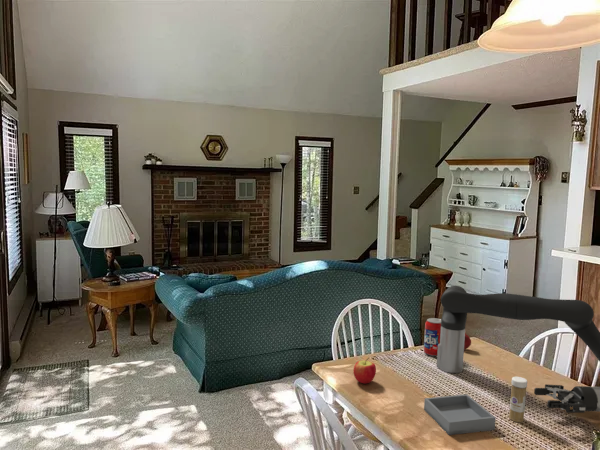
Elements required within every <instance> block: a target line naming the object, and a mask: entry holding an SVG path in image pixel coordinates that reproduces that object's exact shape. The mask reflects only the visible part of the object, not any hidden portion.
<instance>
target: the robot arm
mask: <svg viewBox="0 0 600 450" xmlns="http://www.w3.org/2000/svg"><path fill="white" fill-rule="evenodd" d="M440 304H441V306H442V316H441V318H440V319H441V334H440V344H438V351H437V356H436V368H437V369H440V370H441V371H443V372H446V373H450V374H451V373H452V374H459V373H462V371H463V369H464V355H465V350H464V341H465V332H466V325H467V318H468V317H467V316H468V314H480V315H485V316H489V317H496V318H504V319H510V320H515V321H516V320H518V321H531V320H532V321H533V320H554V321H559V322H563V323H565V325H566V326H568V328H569V329H570V330H571V331H573V333H575V334H576V336H578V338H580V339H581V340H582V341H583V343H584V344H585V345H586V346H587V347H588V349H589V350H590V352H592V353H593V355H594V356H595V358H596V359H597V360H598V361H599V362H600V330H599V329H598V326H597V325H596V324H595V322H594V320H593V319H594V316H595V315H594V313H595V312H594V309H593V308H592V306H591V305H590V304H589V303H587V302H586V301H584V300H580V299H552V298H544V297H538V296H530V295H523V294H517V293H516V294H515V293H514V294H513V293H504V292H503V293H502V292H501V293H500V292H499V293H487V294H475V293H470V292H467V290H465V288H463V287H462V286H459V285H451V286H449V287H448V288H447V289H446V290H445V291H444V292H443V293H442V295H441V297H440ZM564 387H565V386H564V385H561V384H545V385H544V387H535V388H534V390H533V393H534V395H535V396H547V397H551V398H553V399H548V400H547V404H546V406H547V407H548V408H549V409H561V410H562V411H563V410H565V412H566V413H568V414H569V413H570V414H571V413H572V414H579V413H580V414H582V413H583V414H584V413H586V412H596V413H597V412H600V386H589V385H588V386H586V385H584V386H583V385H582V386H581V385H579V386H578V385H576V386H574V387H573V388H572V389H571V390H570V389H569V390H568V389H565V388H564Z"/></svg>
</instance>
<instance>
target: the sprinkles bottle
mask: <svg viewBox="0 0 600 450" xmlns="http://www.w3.org/2000/svg"><path fill="white" fill-rule="evenodd" d="M510 383H511V390H510V399H509V413H508V418H509V419H510V421H513V422H515V423H522V422H524V421H525V408H526V398H527V395H526V394H527V388H528V380H527V378H525V377H521V376H512V377H511V382H510Z"/></svg>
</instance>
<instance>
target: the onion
mask: <svg viewBox="0 0 600 450" xmlns="http://www.w3.org/2000/svg"><path fill="white" fill-rule="evenodd" d="M471 345H472V340H471V338H470V336H469V335H468V334H467V332H466V331H465V341H464V351H466V350H467V349H468V348H470V346H471Z"/></svg>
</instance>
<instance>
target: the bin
mask: <svg viewBox="0 0 600 450" xmlns="http://www.w3.org/2000/svg"><path fill="white" fill-rule="evenodd" d="M423 401H424V403H423V411H424V412H425V413H426V414H428V415H429V417H432V418H433V419H434V420H435V421H436V422H437V423H438V424H437V423H436V422H435V421H434V420H433V419H432V418H431V419H432V420H433V421H434V422H435V423H436V424H437V425H438V426H439V427H440V428H441V429H442V430H443V431H444V432H445V431H446V432H445V433H446V434H447V436H454V435H461V434H462V435H463V434H471V433H472V434H473V433H479V432H480V431H481V432H488V431H495V429H496V416H495V415H493V414H492V413H491V412H490V411H489V410H487V409H486V408H485V407H483V406H482V405H481V404H480V403H478V401H476V400H475V399H474V398H472V397H471V396H470V395H468V394H457V395H456V394H455V395H446V396H435V397H425V398H424V400H423Z"/></svg>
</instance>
